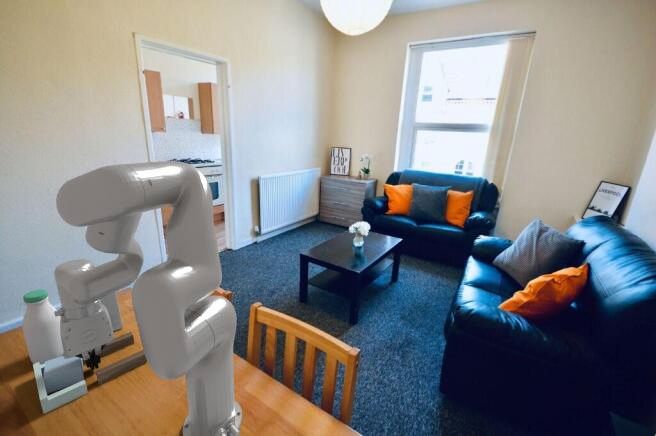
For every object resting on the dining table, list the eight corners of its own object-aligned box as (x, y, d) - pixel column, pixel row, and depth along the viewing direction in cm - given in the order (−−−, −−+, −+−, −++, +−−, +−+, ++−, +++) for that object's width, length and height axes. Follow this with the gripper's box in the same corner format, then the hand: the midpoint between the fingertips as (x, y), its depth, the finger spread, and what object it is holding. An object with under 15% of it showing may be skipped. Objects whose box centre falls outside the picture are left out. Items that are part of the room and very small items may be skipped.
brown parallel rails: (146, 362, 83) (145, 353, 82) (99, 384, 75) (97, 375, 74) (132, 339, 91) (131, 331, 90) (87, 358, 83) (86, 349, 82)
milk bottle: (70, 355, 84) (56, 293, 78) (32, 370, 78) (14, 304, 73) (66, 342, 89) (52, 283, 83) (30, 354, 83) (13, 292, 78)
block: (83, 380, 76) (80, 365, 75) (46, 393, 72) (43, 378, 70) (83, 363, 81) (80, 350, 80) (48, 375, 77) (45, 361, 76)
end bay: (87, 392, 72) (85, 379, 71) (43, 414, 67) (40, 400, 66) (75, 360, 82) (73, 348, 81) (36, 376, 76) (32, 364, 75)
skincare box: (123, 328, 96) (117, 288, 92) (100, 336, 92) (92, 294, 88) (118, 316, 102) (111, 278, 98) (96, 323, 98) (88, 283, 93)
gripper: (43, 327, 66) (59, 391, 71) (121, 302, 77) (130, 359, 82) (40, 313, 71) (55, 374, 76) (113, 291, 82) (122, 346, 87)
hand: (94, 366), depth 79 cm, fingers closed
